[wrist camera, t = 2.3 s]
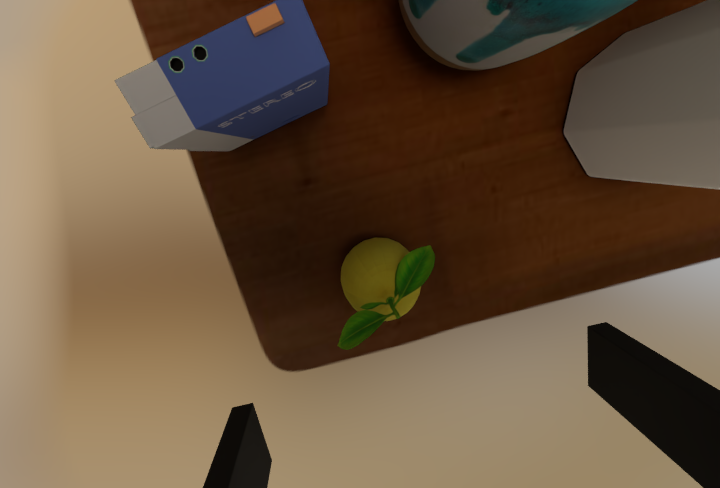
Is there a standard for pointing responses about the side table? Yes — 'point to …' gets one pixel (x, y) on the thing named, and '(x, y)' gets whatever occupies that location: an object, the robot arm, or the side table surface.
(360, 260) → the lemon
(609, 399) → the robot arm
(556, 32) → the vase
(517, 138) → the side table surface
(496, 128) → the side table surface
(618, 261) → the side table surface
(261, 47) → the walkman
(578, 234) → the side table surface
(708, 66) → the cup
